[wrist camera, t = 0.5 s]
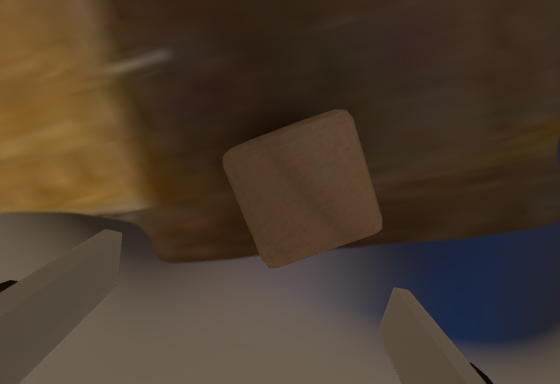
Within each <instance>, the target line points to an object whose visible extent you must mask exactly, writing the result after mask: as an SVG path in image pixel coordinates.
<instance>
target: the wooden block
mask: <svg viewBox="0 0 560 384" xmlns="http://www.w3.org/2000/svg"><path fill="white" fill-rule="evenodd" d="M223 168H224V170H225V173H226V175H227V177H228V180H229V182H230V185H231V187H232V189H233V192H234V194H235V197H236V199H237V201H238V204H239V206H240V209H241V211H242V213H243V216H244V218H245V221H246V223H247V225H248V228H249V230H250V232H251V235H252V237H253V240H254V242H255V244H256V247H257V249H258V252H259V254H260V256H261V259H262V260H263V261H264V262H265V263H266V265H267V266H268V267H269V268H278V267H281V266H284V265H287V264H290V263H292V262H295V261H298V260H301V259H304V258H307V257H310V256H313V255H316V254H319V253H321V252H324V251H327V250H330V249H333V248H336V247H339V246H342V245H345V244H348V243H350V242H353V241H356V240H359V239H362V238H365V237H368V236H371V235H374V234H376V233H377V232H379V231H380V230H381V229H382V216H381V212H380V209H379V205H378V202H377V199H376V195H375V192H374V188H373V185H372V181H371V178H370V175H369V171H368V168H367V164H366V161H365V157H364V154H363V150H362V147H361V144H360V140H359V137H358V133H357V130H356V126H355V123H354V120H353V117H352V116H351V115H350V114H349V112H348V111H347V110H340V109H335V110H332V111H328V112H325V113H322V114H319V115H316V116H312V117H309V118H306V119H303V120H301V121H298V122H295V123H293V124H290V125H287V126H285V127H282V128H279V129H277V130H274V131H271V132H269V133H266V134H263V135H261V136H258V137H255V138H253V139H250V140H248V141H246V142H244V143H242V144H239V145H237V146H235V147H233V148H231V149H230V150H229V151H227V152H226V153H225V154H224V155H223Z"/></svg>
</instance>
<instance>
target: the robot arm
mask: <svg viewBox="0 0 560 384" xmlns="http://www.w3.org/2000/svg"><path fill="white" fill-rule="evenodd" d="M121 239H122V233H121V232H116V231H111V230H106V229H105V230H103V231H102V232H100V233H98V234H96V235H95V236H93V237H91V238H90V239H88V240H87V241H85V242H83V243H82V244H80V245H78V246H77V247H75V248H73V249H72V250H70V251H68V252H67V253H65V254H63V255H62V256H60V257H58V258H57V259H55V260H53V261H52V262H50V263H48V264H47V265H45V266H43V267H42V268H40V269H39V270H37V271H35V272H34V273H32V274H30V275H29V276H27V277H25V278H24V279H22V280H20V281H13V280H9V281H6V282H4V283H1V284H0V384H19V383H20V382H21V381H22V380H23V379H24V378H25V377H26V376H27V375H28V374H29V373H30V372H31V371H32V370H33V369H34V368H35V367H36V366H37V365H38V364H39V363H40V362H41V361H42V360H43V359H44V358H45V357H46V356H47V355H48V354H49V353H50V352H51V351H52V350H53V349H54V348H55V347H56V346H57V345H58V344H59V343H60V342H61V341H62V340H63V339H64V338H65V337H66V336H67V335H68V334H69V333H70V332H71V331H72V330H73V329H74V328H75V327H76V326H77V325H78V324H79V323H80V322H81V321H82V320H83V319H84V318H85V317H86V316H87V315H88V314H89V313H90V312H91V311H92V310H93V309H94V308H95V307H96V306H97V305H98V304H99V303H100V302H101V301H102V300H103V299H104V298H105V297H106V296H107V295H108V294H109V293H110V292H111V290H112V289H114V288H115V287H116V286H117V277H118V268H119V258H120V249H121ZM377 335H378V337H379V339H380V341H381V343H382V345H383V347H384V349H385V351H386V353H387V355H388V357H389V359H390V361H391V363H392V365H393V367H394V369H395V371H396V373H397V375H398V377H399V379H400V381H401V383H402V384H493V383H492V382H491V380H490V379H489V378H488V377H487V376H486V375H485V374H484V373H483V372H482V371H480V370H479V369H478V368H477V367H476V366H474V365H473V364H472V363H469V362H468V361H467V360H466V359H465V357H464V356H463V355H462V354H461V353H460V351H459V350H458V349H457V348H456V346H454V344H453V343H452V342H451V340H450V339H449V338H448V337H447V336H446V335H445V333H444V332H443V331H442V330H441V329H440V327H439V326H438V325H437V324H436V322H435V321H434V320H433V319H432V318H431V316H430V315H429V314H428V313H427V312H426V310H425V309H424V308H423V307H422V306H421V304H419V302H418V301H417V300H416V299H415V297H414V296H413V295H412V294H411V292H410V291H409V290H405V289H400V288H395V287H394V289H393V291H392V294H391V297H390V300H389V302H388V305H387V308H386V311H385V313H384V316H383V319H382V322H381V324H380V327H379V330H378V332H377Z"/></svg>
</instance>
